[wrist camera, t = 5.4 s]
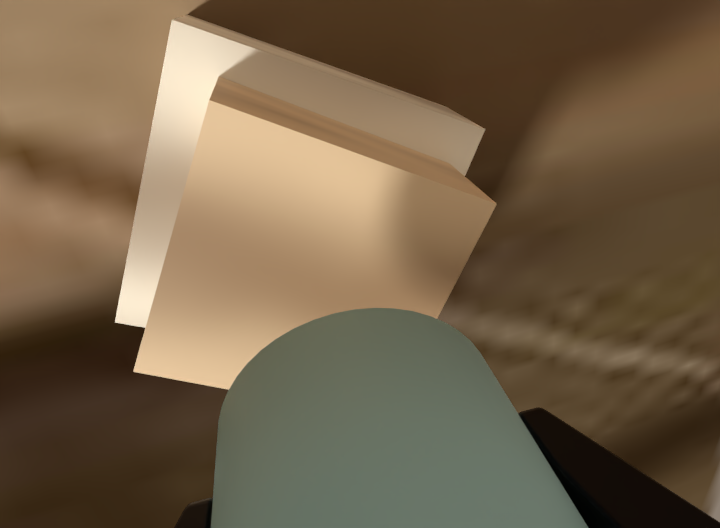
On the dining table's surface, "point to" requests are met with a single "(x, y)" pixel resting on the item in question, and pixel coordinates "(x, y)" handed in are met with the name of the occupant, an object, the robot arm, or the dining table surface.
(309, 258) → the oak top block
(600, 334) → the dining table surface
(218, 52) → the birch base block
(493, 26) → the dining table surface
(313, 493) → the teal cylinder
